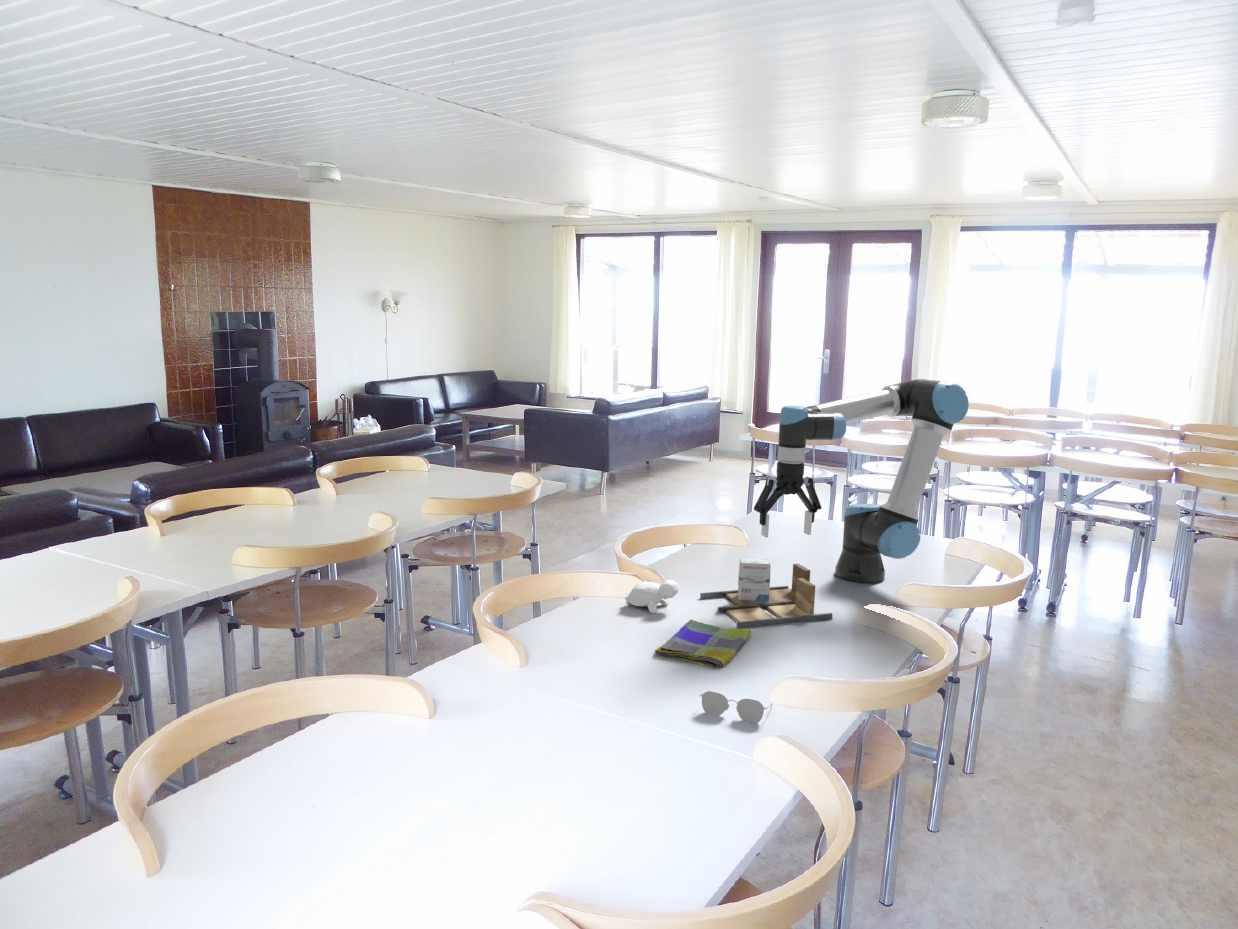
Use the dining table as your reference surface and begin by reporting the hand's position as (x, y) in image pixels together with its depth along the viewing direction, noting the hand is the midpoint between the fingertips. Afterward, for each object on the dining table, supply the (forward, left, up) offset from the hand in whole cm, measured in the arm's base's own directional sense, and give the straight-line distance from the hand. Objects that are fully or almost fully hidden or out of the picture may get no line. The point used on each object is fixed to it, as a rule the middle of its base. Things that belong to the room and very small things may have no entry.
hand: (786, 535), depth 241 cm
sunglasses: (+44, +60, -20) cm, 77 cm away
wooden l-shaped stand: (+10, +12, -19) cm, 25 cm away
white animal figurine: (+39, -2, -19) cm, 44 cm away
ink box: (+9, 0, -19) cm, 21 cm away
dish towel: (+36, +27, -20) cm, 49 cm away
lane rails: (+9, +6, -19) cm, 22 cm away
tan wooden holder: (+4, 0, -19) cm, 20 cm away
